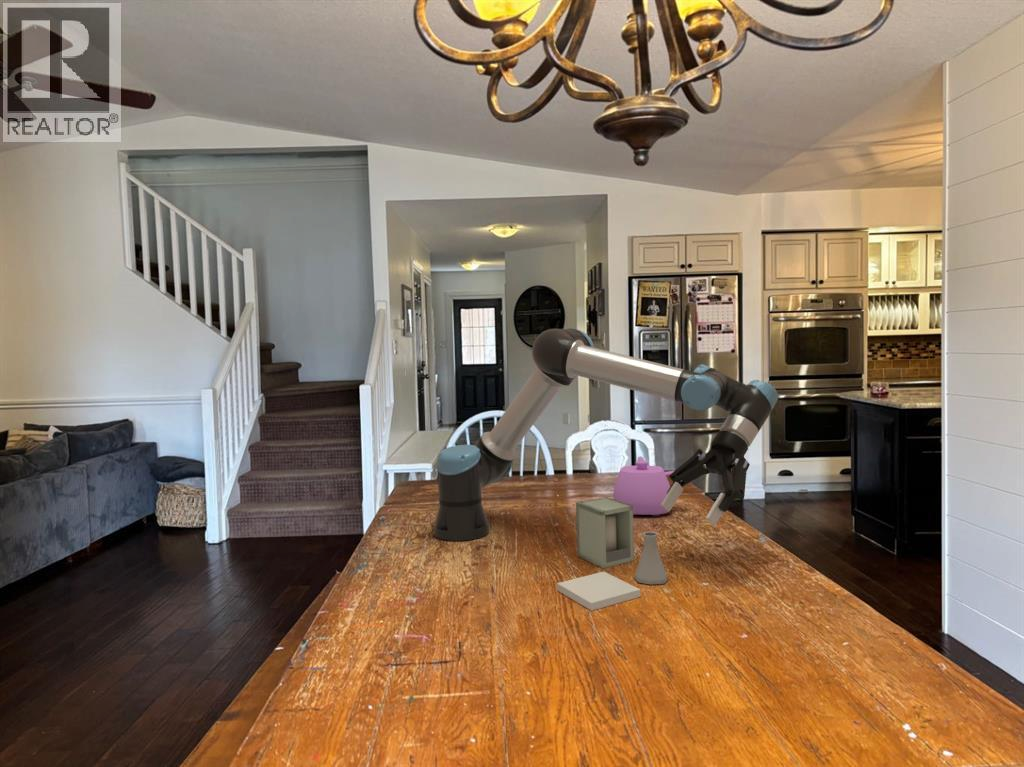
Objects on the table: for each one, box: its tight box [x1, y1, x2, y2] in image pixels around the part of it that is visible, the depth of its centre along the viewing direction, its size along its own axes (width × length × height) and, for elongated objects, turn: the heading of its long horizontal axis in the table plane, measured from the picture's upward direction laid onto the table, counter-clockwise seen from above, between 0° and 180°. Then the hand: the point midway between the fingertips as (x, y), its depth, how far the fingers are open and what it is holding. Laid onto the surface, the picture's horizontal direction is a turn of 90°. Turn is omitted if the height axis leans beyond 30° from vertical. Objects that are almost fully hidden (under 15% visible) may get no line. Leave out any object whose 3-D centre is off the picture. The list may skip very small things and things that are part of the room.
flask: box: [633, 531, 669, 585], centre depth 135 cm, size 7×7×10 cm
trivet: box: [556, 571, 641, 611], centre depth 129 cm, size 12×12×2 cm
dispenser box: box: [575, 496, 635, 569], centre depth 149 cm, size 10×9×13 cm
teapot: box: [612, 456, 682, 517], centre depth 191 cm, size 23×21×15 cm
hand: (686, 514), depth 138 cm, fingers open, 13 cm apart
